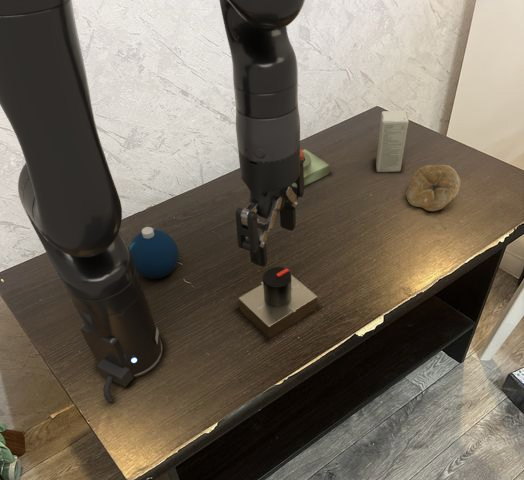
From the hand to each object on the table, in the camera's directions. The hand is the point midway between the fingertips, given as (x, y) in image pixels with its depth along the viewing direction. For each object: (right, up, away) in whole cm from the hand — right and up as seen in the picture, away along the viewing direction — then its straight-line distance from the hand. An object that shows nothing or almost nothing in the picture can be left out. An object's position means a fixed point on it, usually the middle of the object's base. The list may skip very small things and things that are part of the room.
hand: (274, 245), depth 73 cm
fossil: (+31, +14, +26) cm, 43 cm away
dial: (+1, -7, +8) cm, 10 cm away
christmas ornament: (-20, -1, +18) cm, 27 cm away
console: (+1, -9, +10) cm, 14 cm away
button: (+5, +24, +31) cm, 39 cm away
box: (+25, +24, +34) cm, 49 cm away
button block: (+5, +22, +34) cm, 40 cm away
